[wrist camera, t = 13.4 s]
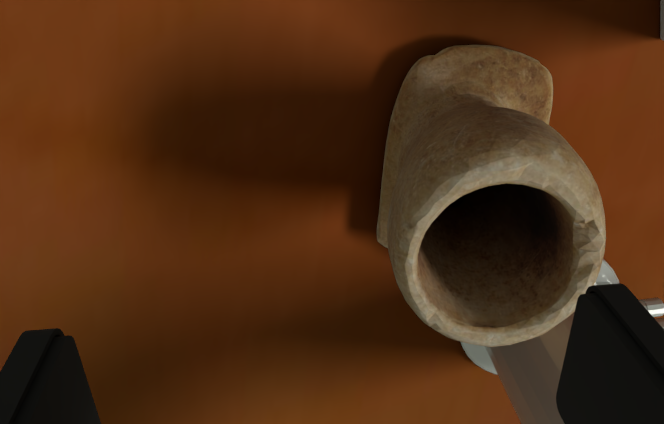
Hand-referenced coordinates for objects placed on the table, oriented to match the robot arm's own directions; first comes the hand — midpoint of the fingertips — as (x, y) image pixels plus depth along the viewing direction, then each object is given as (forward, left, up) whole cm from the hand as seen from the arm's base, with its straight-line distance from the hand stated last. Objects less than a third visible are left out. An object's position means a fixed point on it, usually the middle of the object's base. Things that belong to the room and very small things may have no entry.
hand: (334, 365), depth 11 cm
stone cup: (-9, +9, -26) cm, 29 cm away
